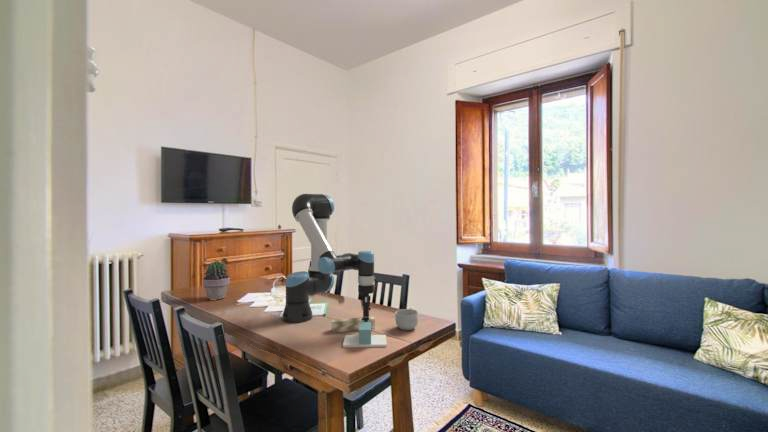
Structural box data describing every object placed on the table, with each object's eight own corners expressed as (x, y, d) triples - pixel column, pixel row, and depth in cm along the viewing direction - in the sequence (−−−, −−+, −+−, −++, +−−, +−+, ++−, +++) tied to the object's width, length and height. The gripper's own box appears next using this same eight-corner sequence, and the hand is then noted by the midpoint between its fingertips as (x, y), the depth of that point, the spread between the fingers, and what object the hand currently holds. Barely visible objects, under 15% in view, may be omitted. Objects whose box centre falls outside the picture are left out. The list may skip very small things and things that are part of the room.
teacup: (411, 333, 158) (411, 316, 158) (390, 329, 164) (390, 312, 164) (424, 325, 170) (424, 308, 170) (404, 321, 176) (404, 305, 176)
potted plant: (191, 302, 210) (191, 261, 210) (212, 294, 230) (212, 256, 229) (218, 303, 207) (218, 262, 207) (237, 295, 227) (237, 257, 226)
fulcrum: (343, 347, 143) (343, 330, 143) (345, 337, 154) (345, 321, 154) (386, 346, 143) (386, 330, 143) (385, 337, 154) (385, 321, 154)
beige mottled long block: (332, 332, 160) (332, 322, 160) (331, 330, 163) (331, 319, 163) (374, 329, 165) (374, 318, 165) (373, 326, 168) (373, 316, 168)
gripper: (374, 290, 151) (374, 338, 152) (374, 278, 176) (374, 320, 177) (357, 290, 151) (357, 338, 152) (359, 278, 176) (359, 320, 177)
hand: (366, 328), depth 164 cm, fingers open, 13 cm apart
